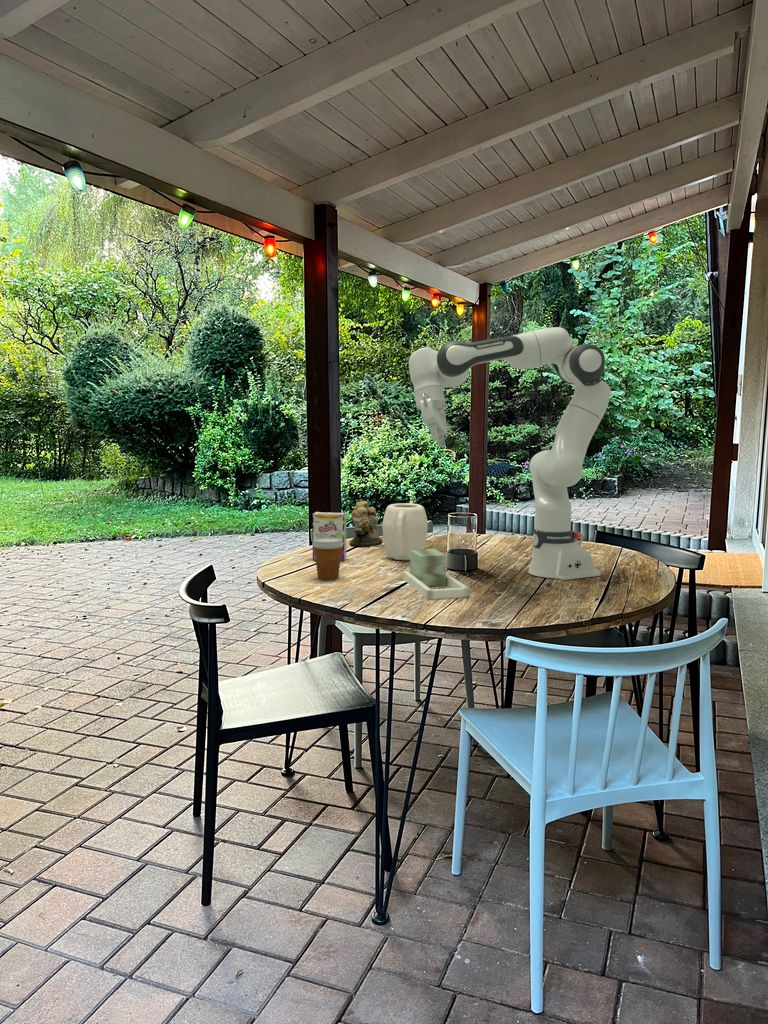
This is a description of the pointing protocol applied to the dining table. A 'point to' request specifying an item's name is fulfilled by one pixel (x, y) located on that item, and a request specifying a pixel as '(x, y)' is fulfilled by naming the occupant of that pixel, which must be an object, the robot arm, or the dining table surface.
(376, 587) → the dining table surface
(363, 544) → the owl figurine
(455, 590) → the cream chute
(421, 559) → the sage block
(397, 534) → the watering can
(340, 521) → the candy bar box
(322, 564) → the disposable coffee cup
